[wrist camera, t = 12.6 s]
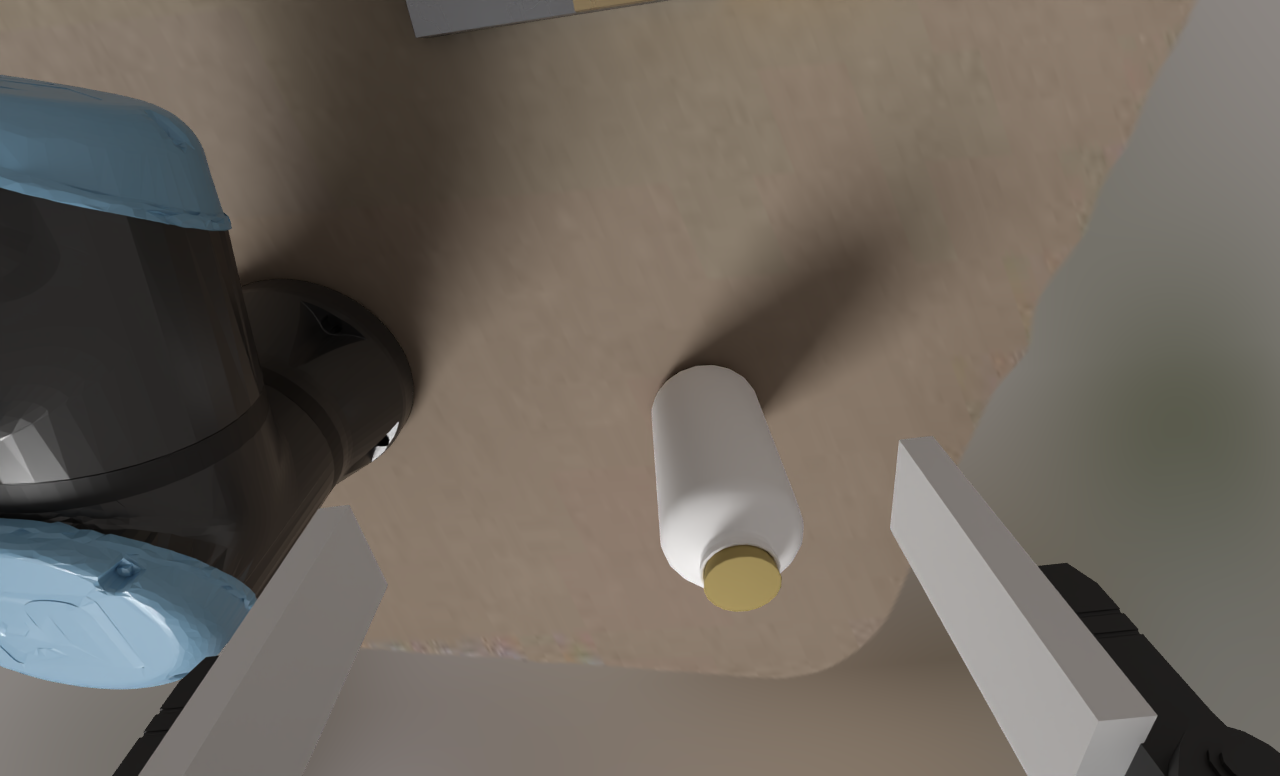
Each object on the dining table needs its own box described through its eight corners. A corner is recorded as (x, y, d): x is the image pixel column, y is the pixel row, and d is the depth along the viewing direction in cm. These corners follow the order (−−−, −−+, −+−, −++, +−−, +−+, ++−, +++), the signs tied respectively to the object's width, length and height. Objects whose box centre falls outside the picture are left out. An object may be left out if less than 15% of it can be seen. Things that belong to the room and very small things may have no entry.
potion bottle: (633, 429, 48) (637, 614, 32) (679, 343, 44) (708, 503, 28) (725, 463, 49) (771, 653, 34) (776, 382, 46) (854, 553, 30)
